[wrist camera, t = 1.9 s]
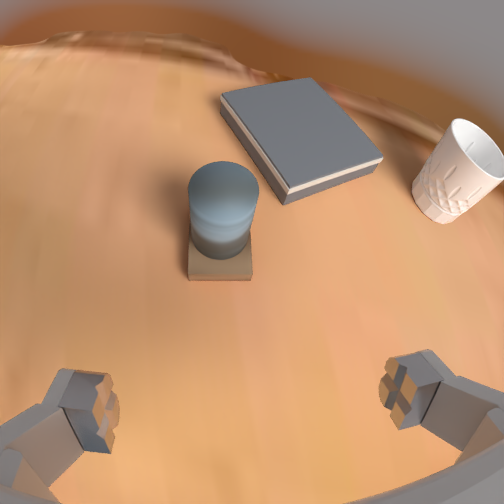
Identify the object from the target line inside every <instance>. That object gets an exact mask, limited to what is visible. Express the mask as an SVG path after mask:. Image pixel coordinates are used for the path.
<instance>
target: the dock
mask: <svg viewBox="0 0 504 504" xmlns="http://www.w3.org/2000/svg"><path fill="white" fill-rule="evenodd" d="M220 101H221V112H220V113H221V115H222V116H223V118H224V119H225V120H226V122H227V123H228V125H229V126H230V128H231V129H232V130H233V132H234V133H235V135H236V136H237V138H238V139H239V140H240V142H241V143H242V145H243V146H244V148H245V149H246V151H247V152H248V154H249V155H250V157H251V158H252V159H253V161H254V162H255V164H256V165H257V167H258V168H259V170H260V171H261V173H262V174H263V176H264V177H265V179H266V180H267V182H268V183H269V185H270V186H271V188H272V189H273V191H274V192H275V194H276V195H277V197H278V198H279V200H280V201H281V203H282V205H286V204H288V203H291V202H294V201H296V200H299V199H302V198H304V197H307V196H310V195H312V194H315V193H318V192H320V191H323V190H326V189H329V188H331V187H334V186H337V185H340V184H342V183H345V182H348V181H351V180H353V179H356V178H359V177H362V176H364V175H367V174H370V173H373V171H374V169H375V168H376V166H377V165H378V163H380V162H381V161H382V159H383V154H382V153H381V152H380V151H379V150H378V148H377V147H376V146H375V145H374V144H373V143H372V141H371V140H370V139H369V138H368V137H367V136H366V135H365V133H364V132H363V131H362V130H361V129H360V128H359V127H358V126H357V124H356V123H355V122H354V121H353V120H352V119H351V118H350V117H349V116H348V115H347V114H346V113H345V112H344V110H343V109H342V108H341V107H340V106H339V105H338V104H337V103H336V102H335V101H334V100H333V99H332V98H331V97H330V96H329V95H328V94H327V93H326V92H325V91H324V90H323V89H322V88H321V87H320V86H319V85H318V84H317V83H316V82H315V81H314V80H313V79H311V78H304V79H296V80H289V81H283V82H277V83H271V84H265V85H260V86H254V87H249V88H244V89H239V90H234V91H230V92H225V93H222V95H221V97H220Z"/></svg>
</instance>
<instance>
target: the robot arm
mask: <svg viewBox="0 0 504 504" xmlns="http://www.w3.org/2000/svg"><path fill="white" fill-rule="evenodd" d="M385 370H386V372H387V373H386V374H385V375H384V376H383V377H382V378H381V381H380V384H379V397H380V400H381V402H382V404H383V406H384V407H386V408H388V409H390V410H391V413H390V417H391V419H392V420H393V422H394V424H395V425H396V427H397V429H398V430H401V429H405V428H409V427H412V426H416V425H419V424H421V426H422V427H424V428H425V429H427V430H429V431H430V432H432V433H433V434H435V435H436V436H438V437H440V438H441V439H443V440H444V441H446V442H448V443H449V444H451V445H452V446H454V447H456V448H457V449H459V450H460V451H462V452H461V454H460V455H459V457H458V458H457V459H456V461H455V464H454V465H453V466H450V467H448V468H446V469H444V470H442V471H439V472H437V473H435V474H432V475H430V476H427V477H425V478H422V479H420V480H417V481H415V482H412V483H409V484H407V485H404V486H401V487H398V488H395V489H392V490H389V491H386V492H383V493H380V494H377V495H374V496H370V497H367V498H363V499H360V500H356V501H352V502H348V503H344V504H504V393H503V392H500V391H498V390H495V389H492V388H490V387H487V386H485V385H482V384H479V383H477V382H474V381H472V380H469V379H467V378H464V377H462V376H457V377H456V376H455V375H454V373H453V372H452V371H451V370H450V369H449V368H448V367H447V366H446V365H445V364H444V363H443V362H442V361H441V360H440V358H439V357H438V356H437V355H436V354H435V353H434V352H433V351H431V350H429V349H427V350H423V351H418V352H415V353H411V354H406V355H401V356H396V357H390V358H389V359H388V360H387V362H386V365H385ZM112 387H113V381H112V378H111V375H110V374H108V373H101V372H92V371H83V370H72V369H64V368H62V369H60V370H59V371H58V373H57V375H56V377H55V378H54V380H53V382H52V384H51V386H50V388H49V390H48V392H47V394H46V396H45V398H44V399H43V401H42V403H41V404H35V405H34V406H32V407H30V408H29V409H27V410H25V411H24V412H22V413H21V414H19V415H17V416H16V417H14V418H12V419H11V420H9V421H7V422H6V423H4V424H2V425H1V426H0V504H61V503H60V502H59V500H58V499H57V498H56V497H55V495H54V494H53V493H52V492H51V491H50V490H49V488H48V487H49V486H50V485H51V484H52V483H53V482H54V481H55V480H56V479H57V478H58V477H59V476H60V475H61V474H62V473H64V472H65V471H66V470H67V469H68V468H69V467H70V466H71V465H72V464H73V463H74V462H75V461H76V460H77V459H78V458H79V457H80V456H81V455H82V454H83V453H84V451H90V452H98V453H108V454H111V452H112V447H113V443H114V439H115V435H114V433H113V429H114V428H115V427H116V426H117V425H118V422H119V415H120V407H119V401H118V398H117V395H116V394H115V393H114V392H113V391H112Z"/></svg>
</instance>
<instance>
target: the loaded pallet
mask: <svg viewBox="0 0 504 504" xmlns="http://www.w3.org/2000/svg"><path fill="white" fill-rule="evenodd" d="M188 193H189V207H190V229H189V254H188V278H189V281H251V278H252V275H253V271H252V253H251V235H250V228H251V224H252V220H253V216H254V212H255V208H256V204H257V200H258V196H259V186H258V182H257V180H256V178H255V177H254V175H253V174H252V173H251V172H250V171H249V170H248V169H246V168H245V167H243V166H241V165H239V164H236V163H233V162H226V161H219V162H213V163H209V164H207V165H205V166H203V167H201V168H200V169H198V170H197V171H196V172H195V173H194V174H193V176H192V177H191V179H190V182H189V186H188Z"/></svg>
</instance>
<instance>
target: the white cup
mask: <svg viewBox="0 0 504 504" xmlns="http://www.w3.org/2000/svg"><path fill="white" fill-rule="evenodd" d="M503 180H504V156H503V154H502V153H501V151H500V150H499V148H498V147H497V145H496V144H495V143H494V141H493V140H492V139H491V138H490V137H489V136H488V135H487V134H486V133H485V132H484V131H483V130H482V129H480V128H479V127H477V126H476V125H475V124H473V123H471V122H469V121H467V120H464V119H454V120H453V121H452V123H451V124H450V126H449V128H448V129H447V130H446V132H445V133H444V135H443V136H442V138H441V139H440V141H439V142H438V144H437V145H436V147H435V148H434V150H433V151H432V153H431V154H430V156H429V158H428V159H427V161H426V162H425V164H424V166H423V168H422V170H421V171H420V173H419V174H418V175H417V177H416V178H415V180H414V181H413V183H412V194H413V197H414V200H415V203H416V204H417V206H418V207H419V208H420V210H421V211H422V212H423V214H425V215H426V216H427V217H428V218H430V219H431V220H432V221H434V222H437V223H441V224H446V223H450V222H452V221H453V220H455V219H456V218H457V217H458V216H459V215H461V214H462V213H464V212H465V211H467V210H468V209H470V208H471V207H472V206H473V205H474V204H476V203H477V202H478V201H480V200H481V199H482V198H483V197H484V196H486V195H487V194H488V193H489V192H490V191H491V190H493V189H494V188H495V187H496V186H497V185H498V184H500V183H501V182H502V181H503Z"/></svg>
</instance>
